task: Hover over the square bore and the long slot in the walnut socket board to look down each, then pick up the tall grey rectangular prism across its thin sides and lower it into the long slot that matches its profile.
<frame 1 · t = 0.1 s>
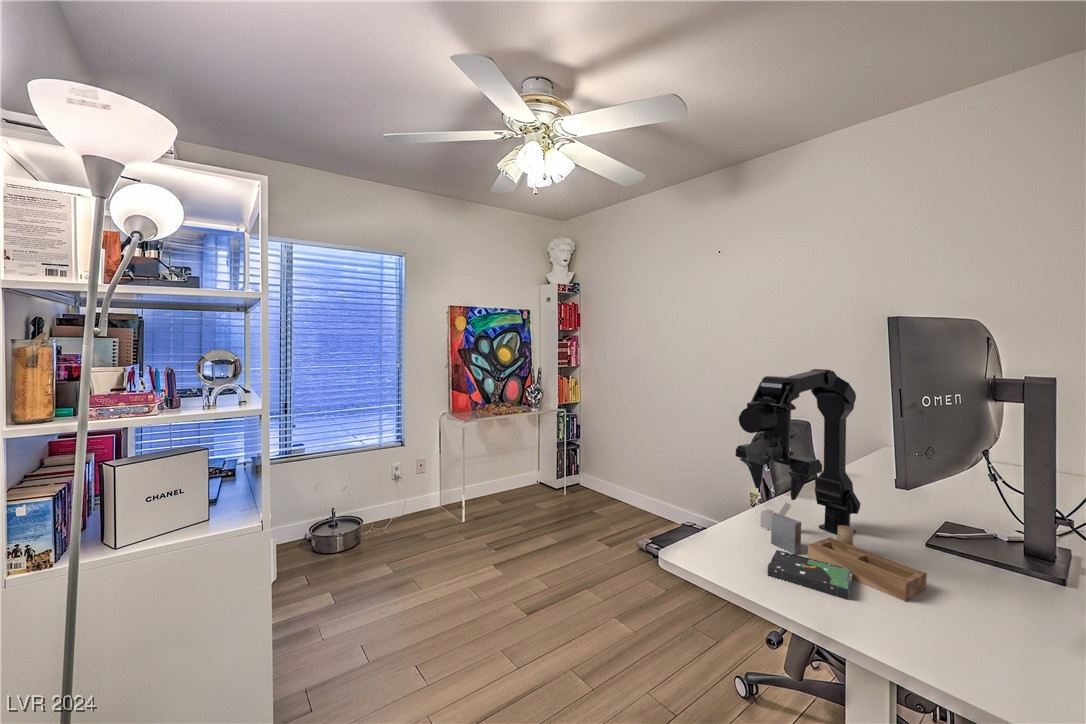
hand: (774, 493, 106), 15 cm above the table, tool pointing down, fingers open, 9 cm apart
disk drive: (809, 580, 95), on the table
socket board: (862, 573, 97), on the table
round dowel: (844, 552, 107), on the table
lighter: (774, 530, 120), on the table
tall grey rectangular prism: (785, 548, 109), on the table
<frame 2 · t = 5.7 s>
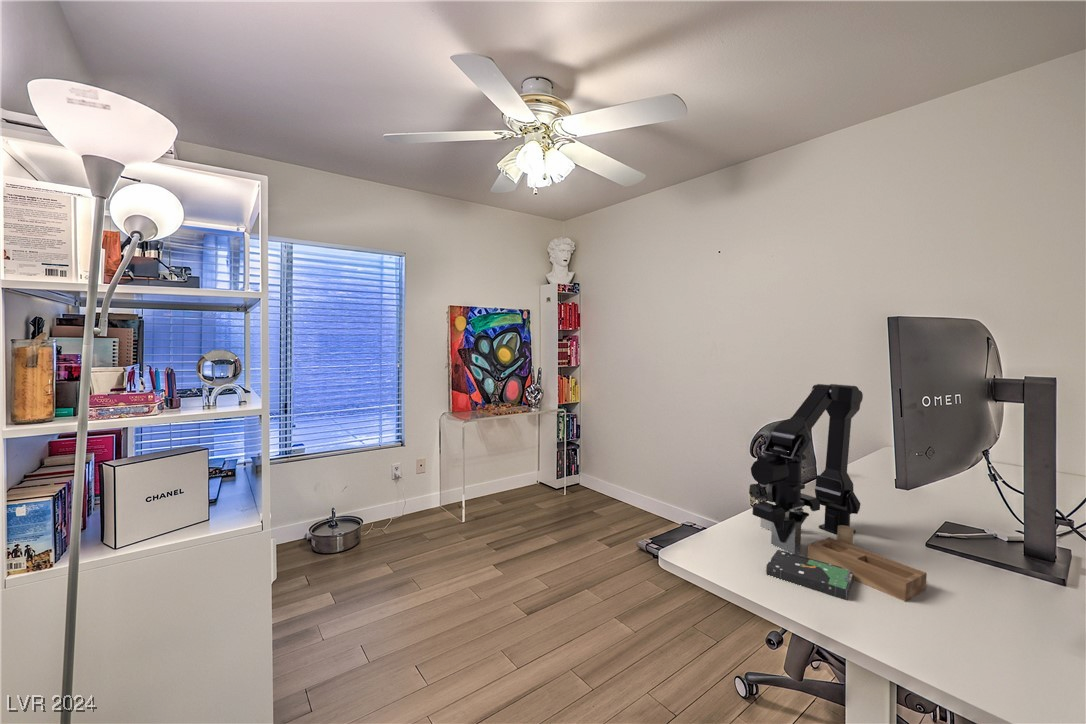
hand: (785, 541, 109), 2 cm above the table, tool pointing down, fingers closed on tall grey rectangular prism, 2 cm apart
tall grey rectangular prism: (785, 548, 109), on the table, touching gripper
everything else where it was.
when the fingers open (4 cm above the table, at t = 11.0 s): tall grey rectangular prism drops 2 cm, resting in socket board.
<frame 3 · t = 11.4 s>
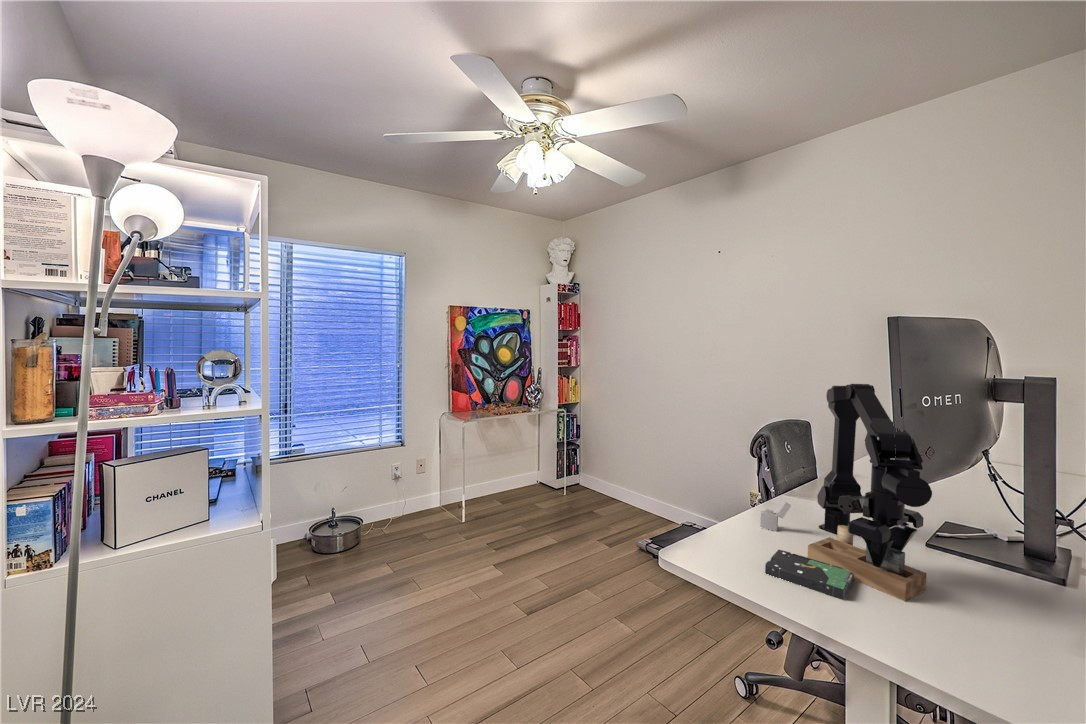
hand: (884, 562, 93), 4 cm above the table, tool pointing down, fingers open, 6 cm apart
tall grey rectangular prism: (884, 582, 93), resting in socket board
everything else where it was.
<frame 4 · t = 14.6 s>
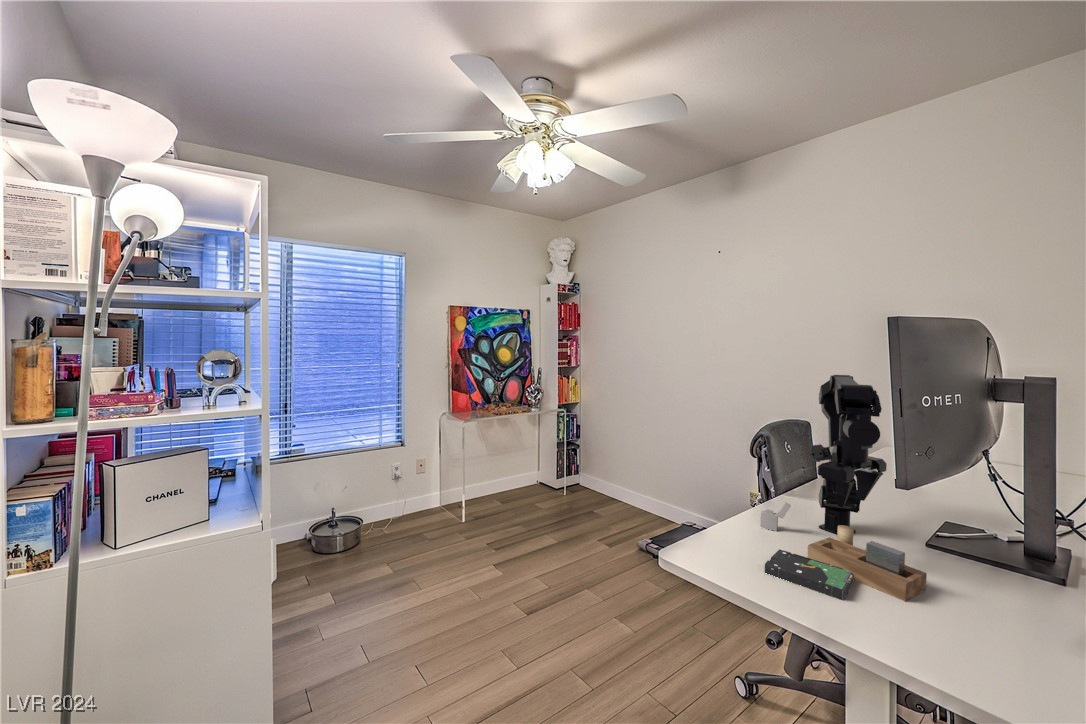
hand: (851, 503, 104), 13 cm above the table, tool pointing down, fingers open, 9 cm apart
nothing on the table moved.
at the end: tall grey rectangular prism 0.0 cm from the target spot, resting in socket board; the gripper is holding nothing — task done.
